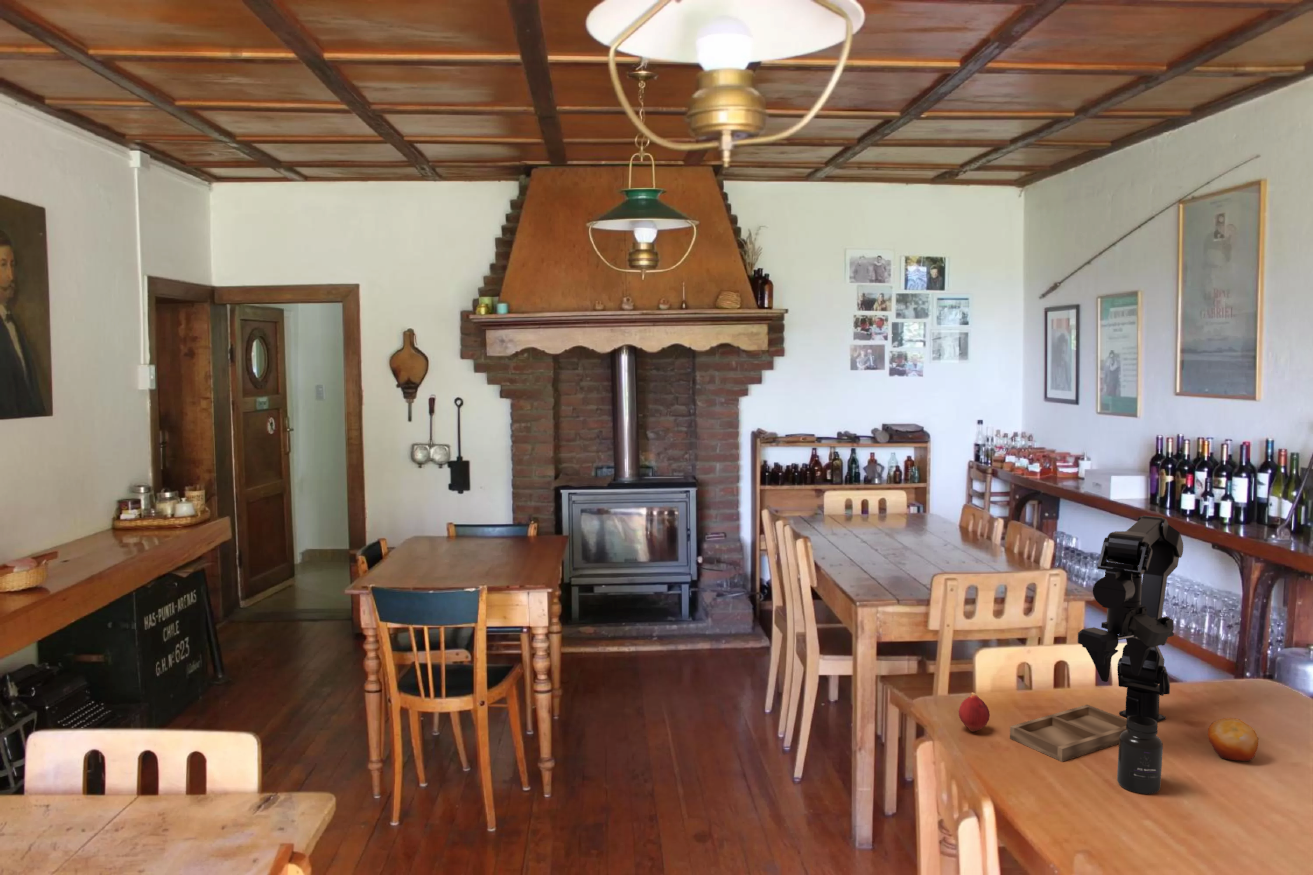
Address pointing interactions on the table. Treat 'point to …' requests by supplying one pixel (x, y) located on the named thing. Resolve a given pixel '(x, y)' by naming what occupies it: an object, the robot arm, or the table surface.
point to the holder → (1070, 732)
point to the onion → (974, 713)
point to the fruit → (1233, 739)
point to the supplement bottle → (1140, 756)
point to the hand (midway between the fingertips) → (1120, 677)
